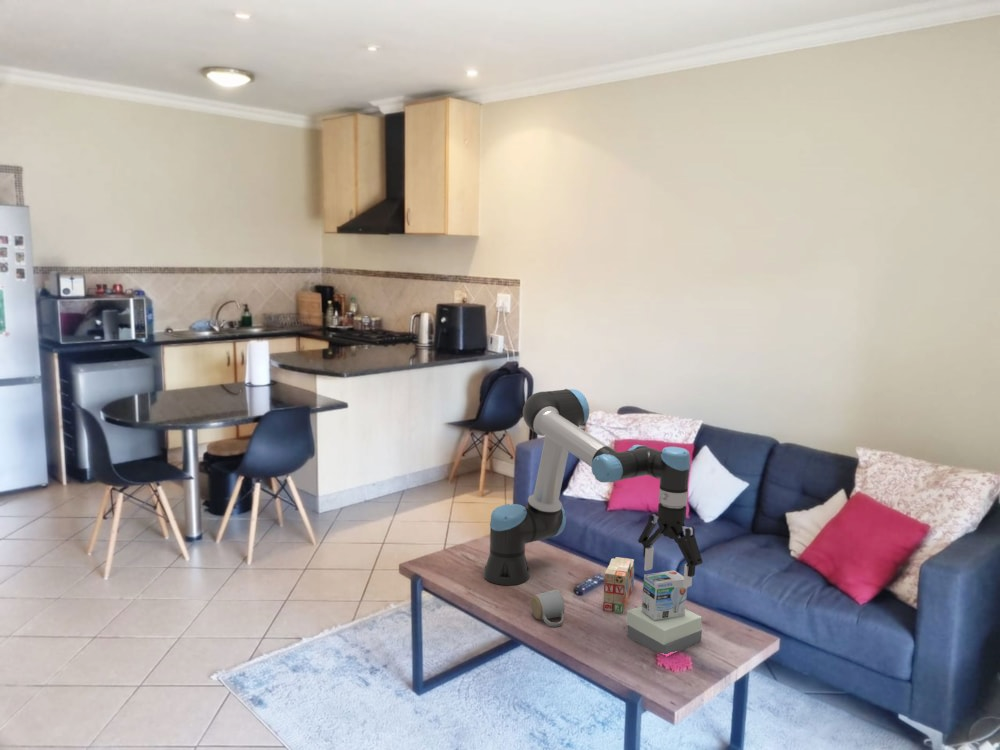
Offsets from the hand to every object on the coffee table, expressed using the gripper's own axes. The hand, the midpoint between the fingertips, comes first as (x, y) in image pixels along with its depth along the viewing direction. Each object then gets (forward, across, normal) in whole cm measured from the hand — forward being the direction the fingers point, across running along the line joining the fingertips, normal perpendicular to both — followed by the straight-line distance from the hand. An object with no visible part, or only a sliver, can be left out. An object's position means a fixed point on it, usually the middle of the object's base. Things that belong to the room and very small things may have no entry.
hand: (667, 577), depth 207 cm
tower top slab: (+15, 0, 0) cm, 15 cm away
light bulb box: (+11, -1, 0) cm, 11 cm away
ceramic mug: (+19, -28, -18) cm, 38 cm away
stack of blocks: (+19, -25, +9) cm, 33 cm away
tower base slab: (+19, 0, 0) cm, 19 cm away
